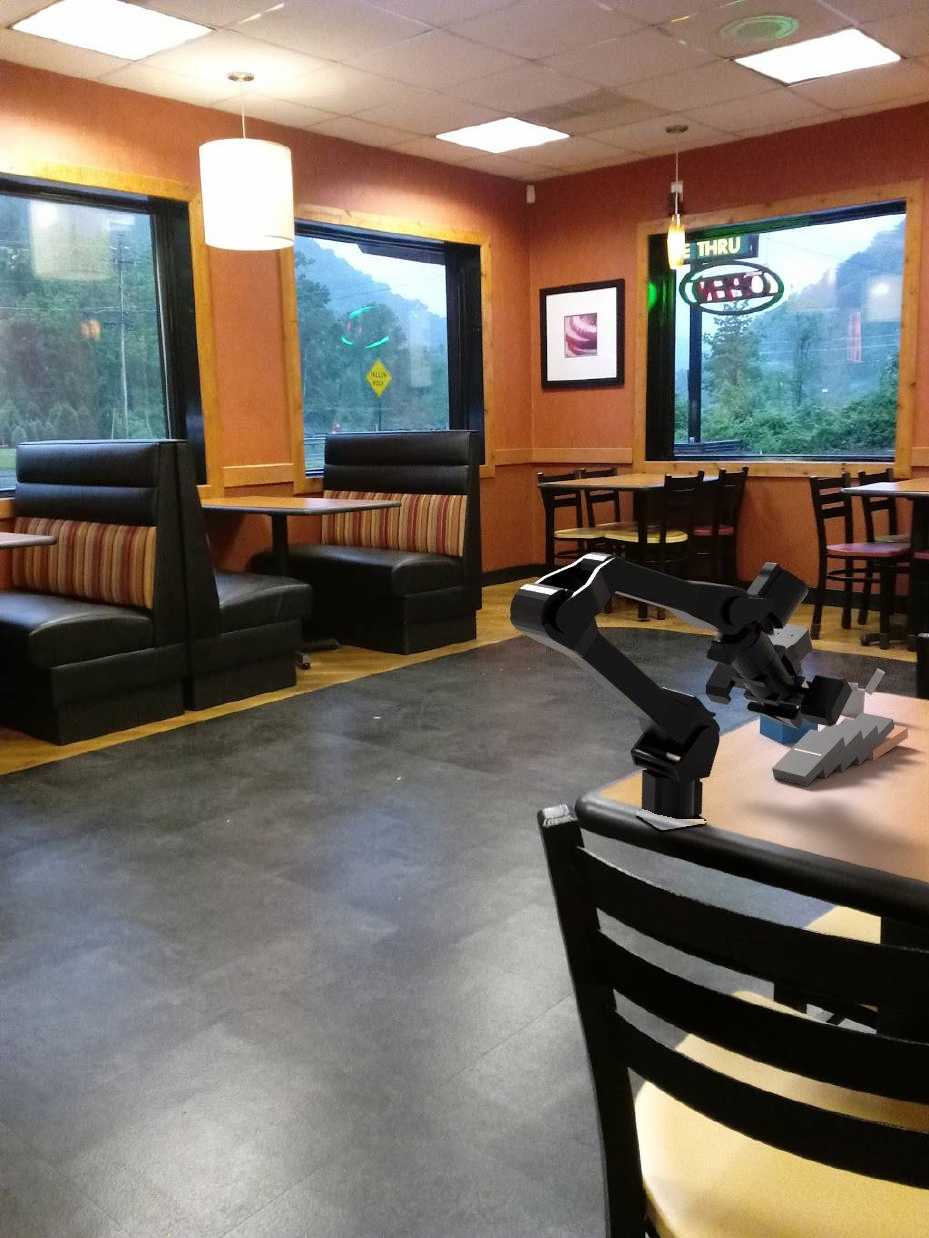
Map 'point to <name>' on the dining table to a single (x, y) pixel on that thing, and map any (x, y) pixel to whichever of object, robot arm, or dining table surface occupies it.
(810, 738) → the domino
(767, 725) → the perfume bottle
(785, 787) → the dining table surface
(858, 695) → the lighter
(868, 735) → the domino
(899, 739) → the domino
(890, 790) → the dining table surface
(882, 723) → the domino
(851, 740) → the domino
